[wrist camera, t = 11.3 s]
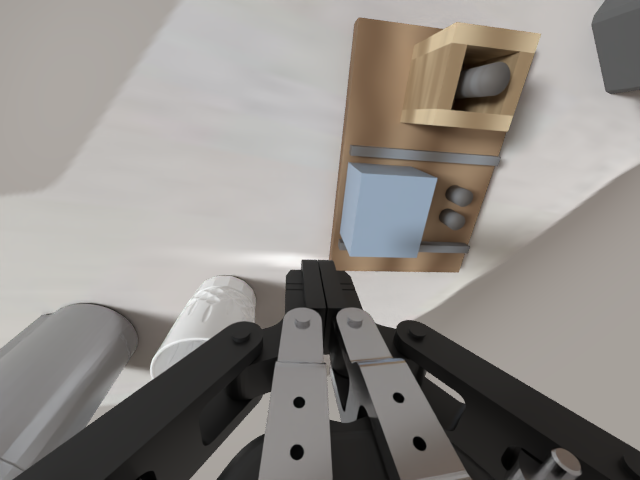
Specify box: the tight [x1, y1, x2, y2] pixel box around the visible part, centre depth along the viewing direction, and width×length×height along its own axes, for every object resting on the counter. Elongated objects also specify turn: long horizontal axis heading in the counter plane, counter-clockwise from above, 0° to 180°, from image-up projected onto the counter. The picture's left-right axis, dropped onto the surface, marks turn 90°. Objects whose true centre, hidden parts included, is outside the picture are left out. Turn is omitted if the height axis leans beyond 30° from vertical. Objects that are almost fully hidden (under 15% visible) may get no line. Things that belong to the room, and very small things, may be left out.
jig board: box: [329, 18, 510, 272], centre depth 23 cm, size 15×22×8 cm
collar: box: [400, 22, 541, 132], centre depth 20 cm, size 6×6×6 cm
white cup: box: [150, 276, 256, 380], centre depth 27 cm, size 8×8×10 cm
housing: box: [340, 162, 437, 258], centre depth 24 cm, size 6×7×5 cm
